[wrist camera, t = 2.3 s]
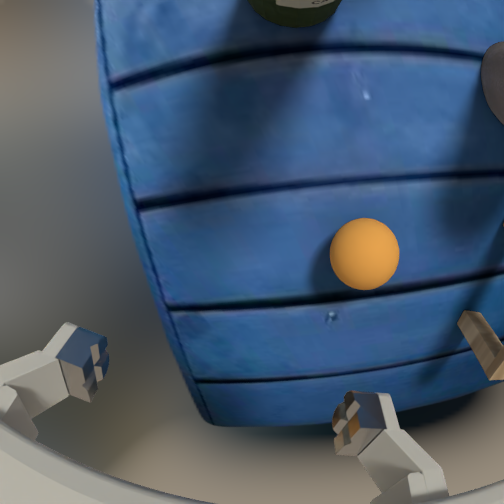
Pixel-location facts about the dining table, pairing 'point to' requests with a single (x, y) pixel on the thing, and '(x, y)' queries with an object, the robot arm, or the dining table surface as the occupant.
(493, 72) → the pillar candle
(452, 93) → the dining table surface
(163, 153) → the dining table surface
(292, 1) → the wine bottle
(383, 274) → the ball
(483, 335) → the bridge
